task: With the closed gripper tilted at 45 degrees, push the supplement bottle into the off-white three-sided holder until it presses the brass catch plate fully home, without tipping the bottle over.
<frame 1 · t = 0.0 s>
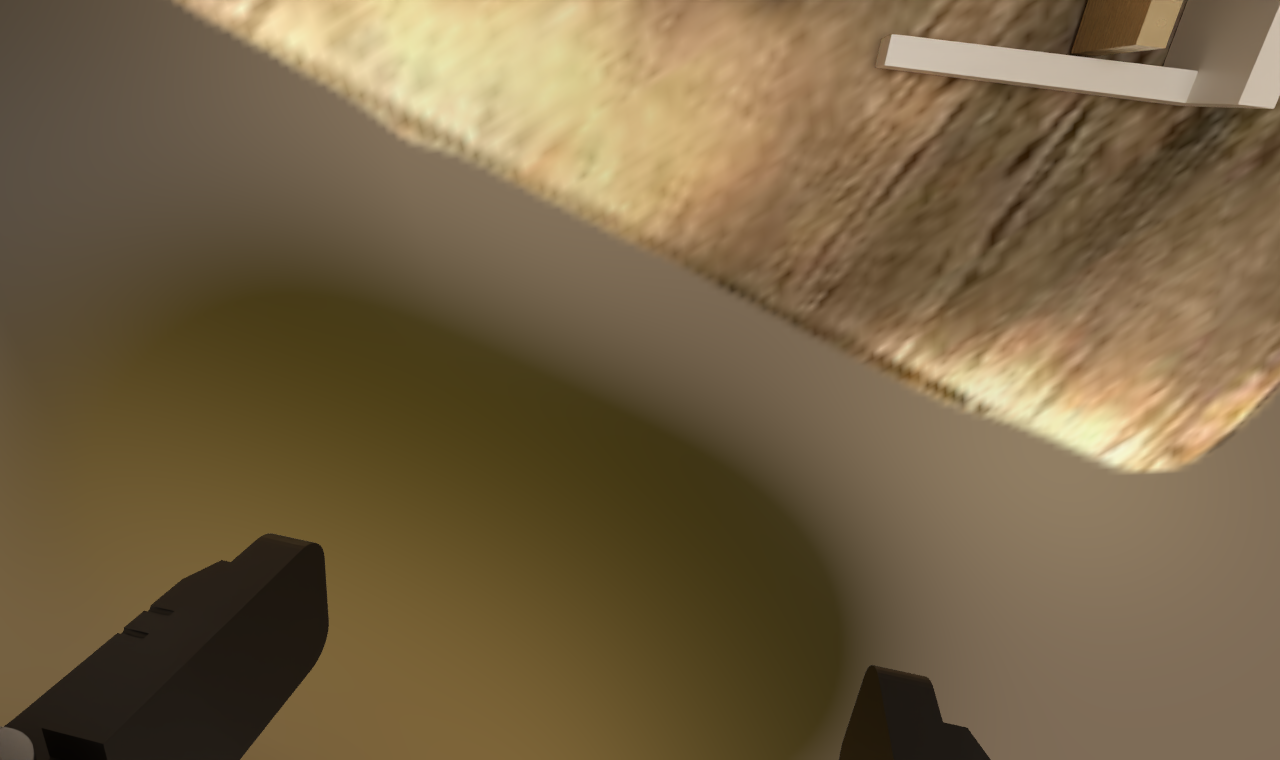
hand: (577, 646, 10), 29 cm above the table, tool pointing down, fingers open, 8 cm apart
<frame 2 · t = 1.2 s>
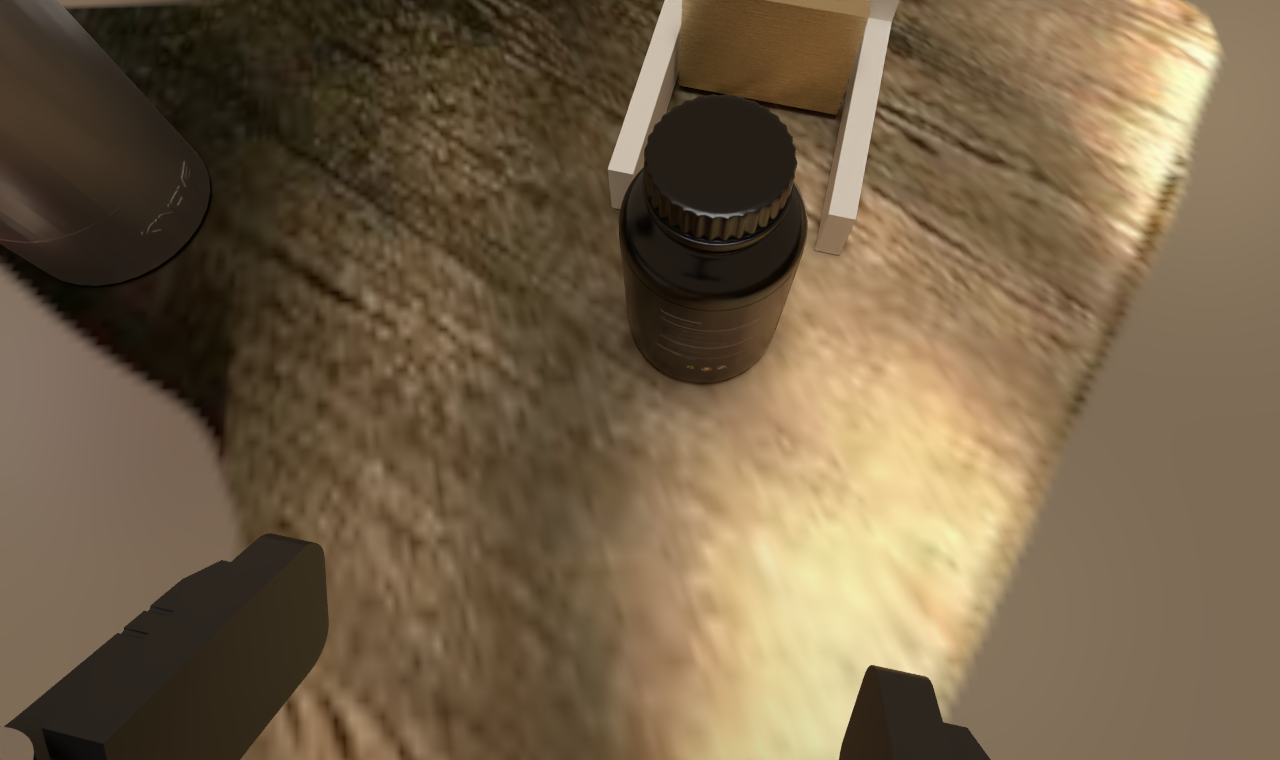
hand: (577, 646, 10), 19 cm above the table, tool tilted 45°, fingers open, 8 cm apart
supplement bottle: (700, 322, 33), on the table
catch plate: (766, 47, 35), point 3 cm above the table, slide at 0.0 cm
holder: (748, 135, 37), on the table
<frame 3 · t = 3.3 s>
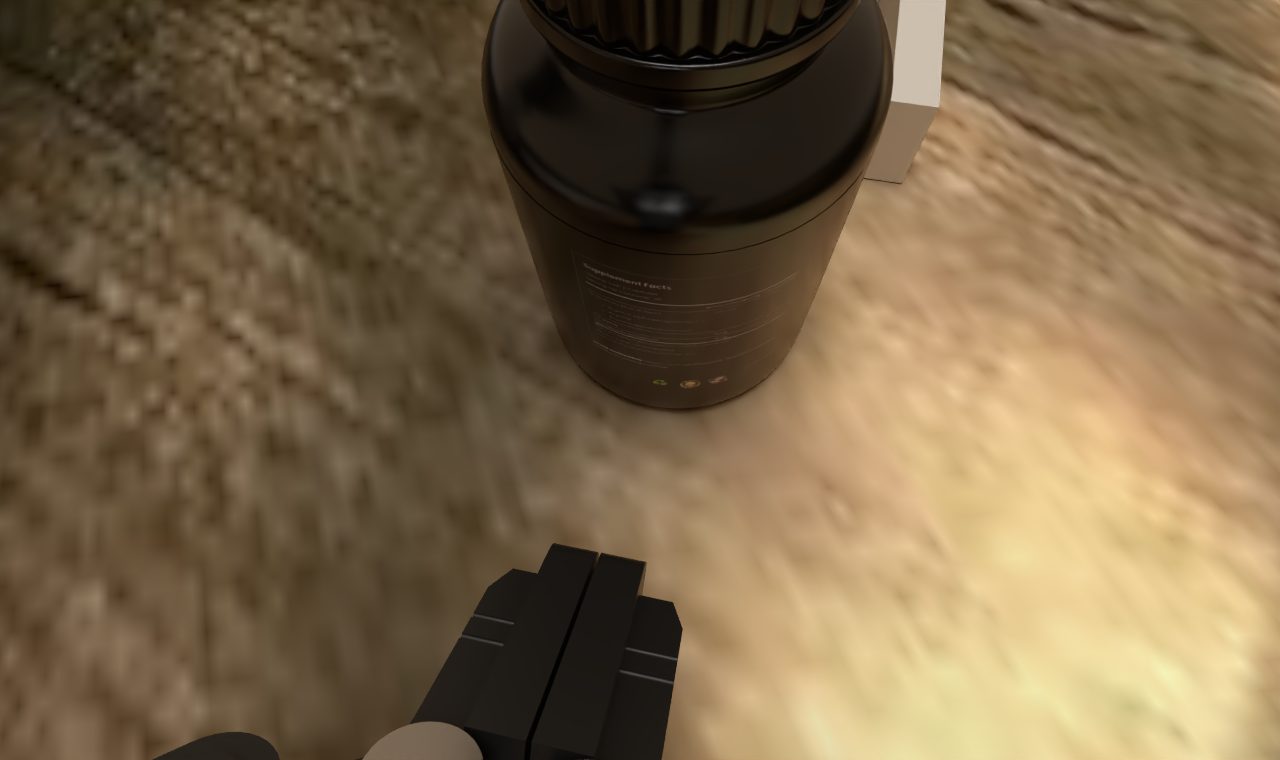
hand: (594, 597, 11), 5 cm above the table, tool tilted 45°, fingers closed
supplement bottle: (676, 304, 20), on the table
holder: (737, 9, 23), on the table
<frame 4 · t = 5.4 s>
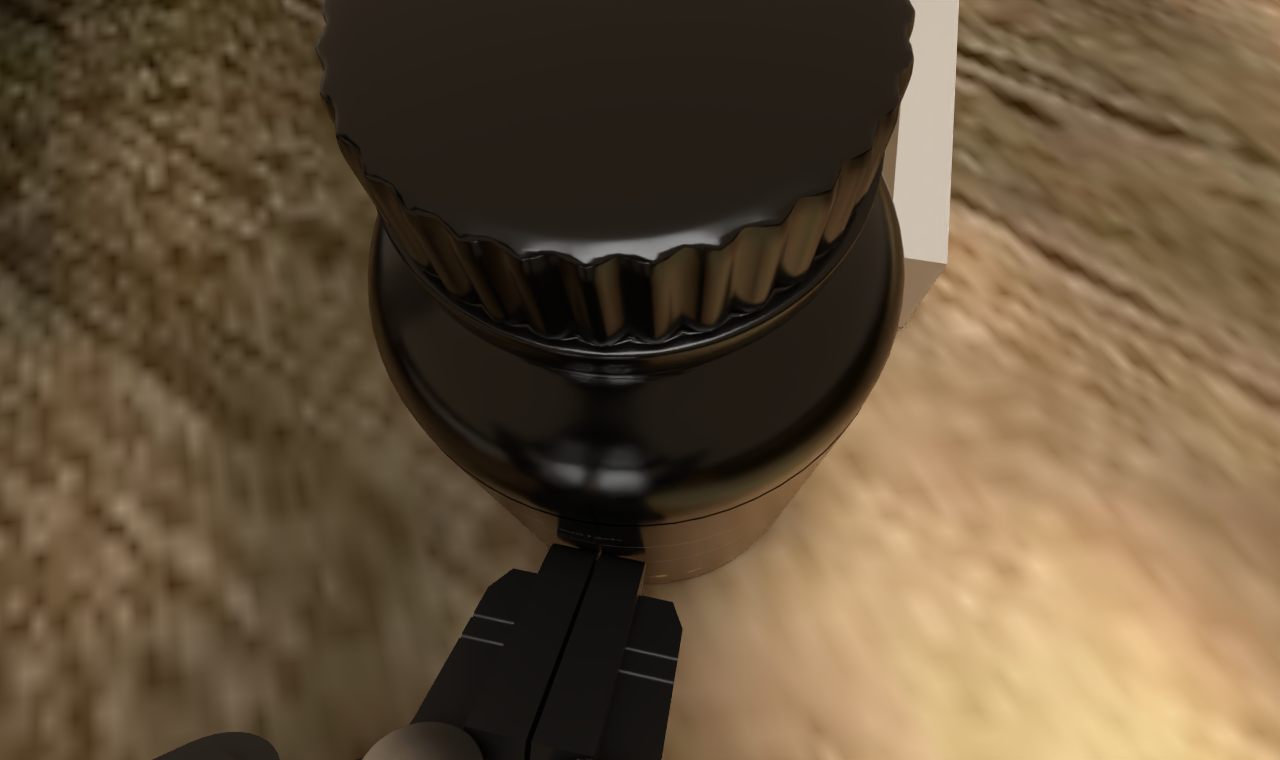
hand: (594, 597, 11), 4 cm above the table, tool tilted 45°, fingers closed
supplement bottle: (648, 443, 17), on the table, touching gripper
holder: (712, 110, 20), on the table
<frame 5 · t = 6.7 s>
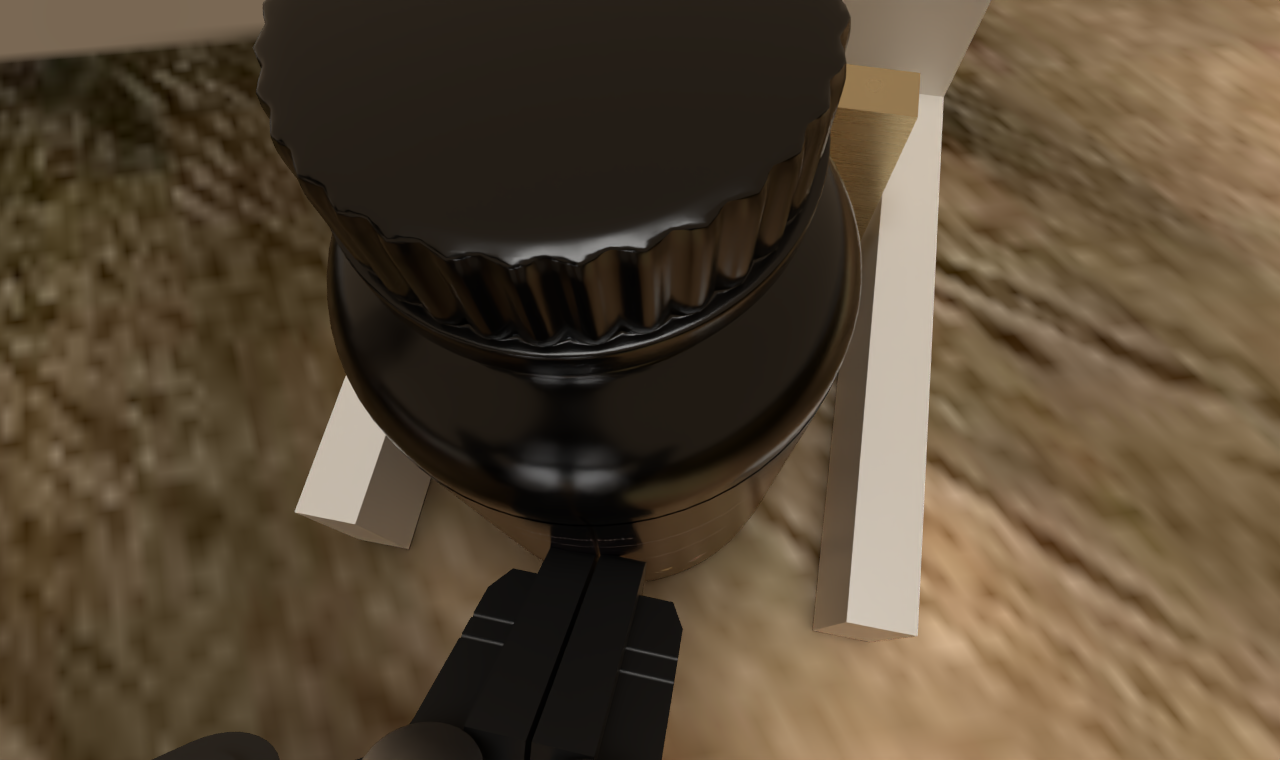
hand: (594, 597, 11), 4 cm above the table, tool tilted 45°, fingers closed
supplement bottle: (626, 443, 17), on the table, touching gripper
catch plate: (675, 173, 15), point 3 cm above the table, slide at 0.0 cm
holder: (655, 342, 18), on the table
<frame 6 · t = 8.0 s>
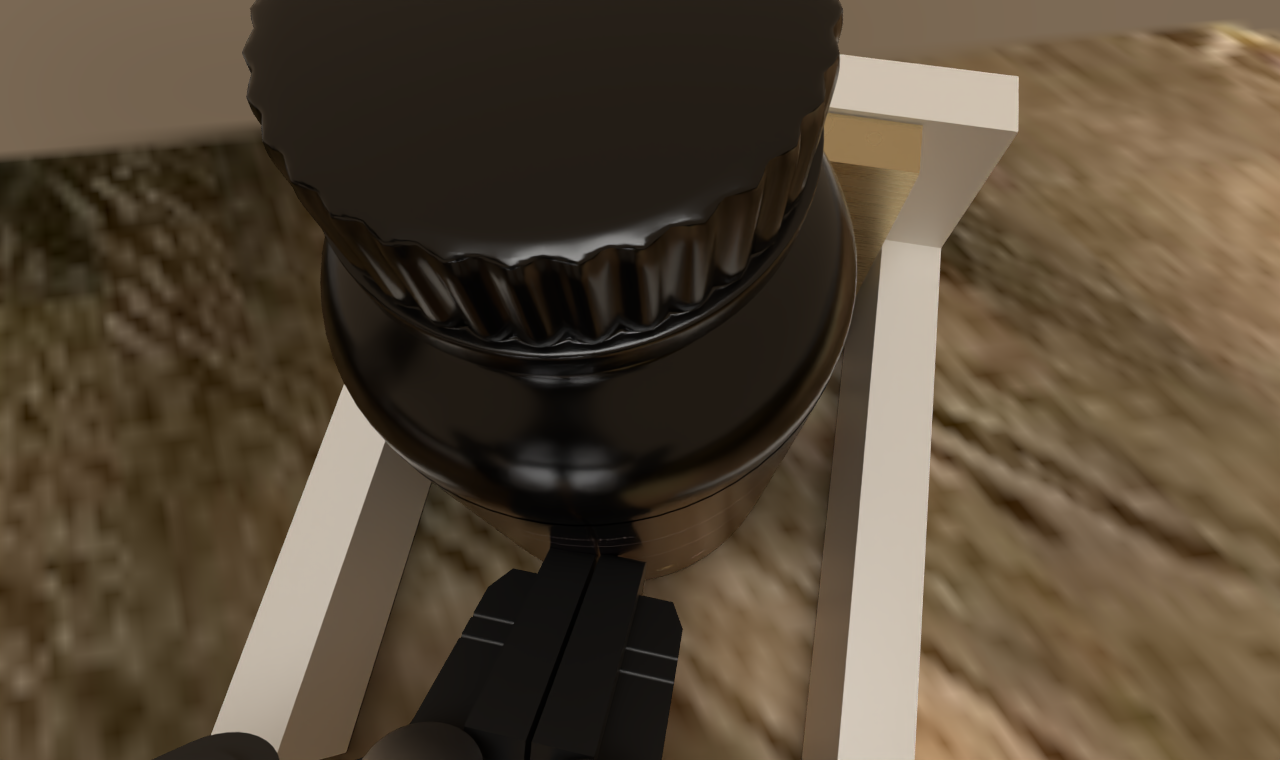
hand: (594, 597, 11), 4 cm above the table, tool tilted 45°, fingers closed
supplement bottle: (623, 442, 17), on the table, touching catch plate, gripper
catch plate: (669, 217, 15), point 3 cm above the table, slide at 3.0 cm, touching supplement bottle
holder: (624, 505, 16), on the table
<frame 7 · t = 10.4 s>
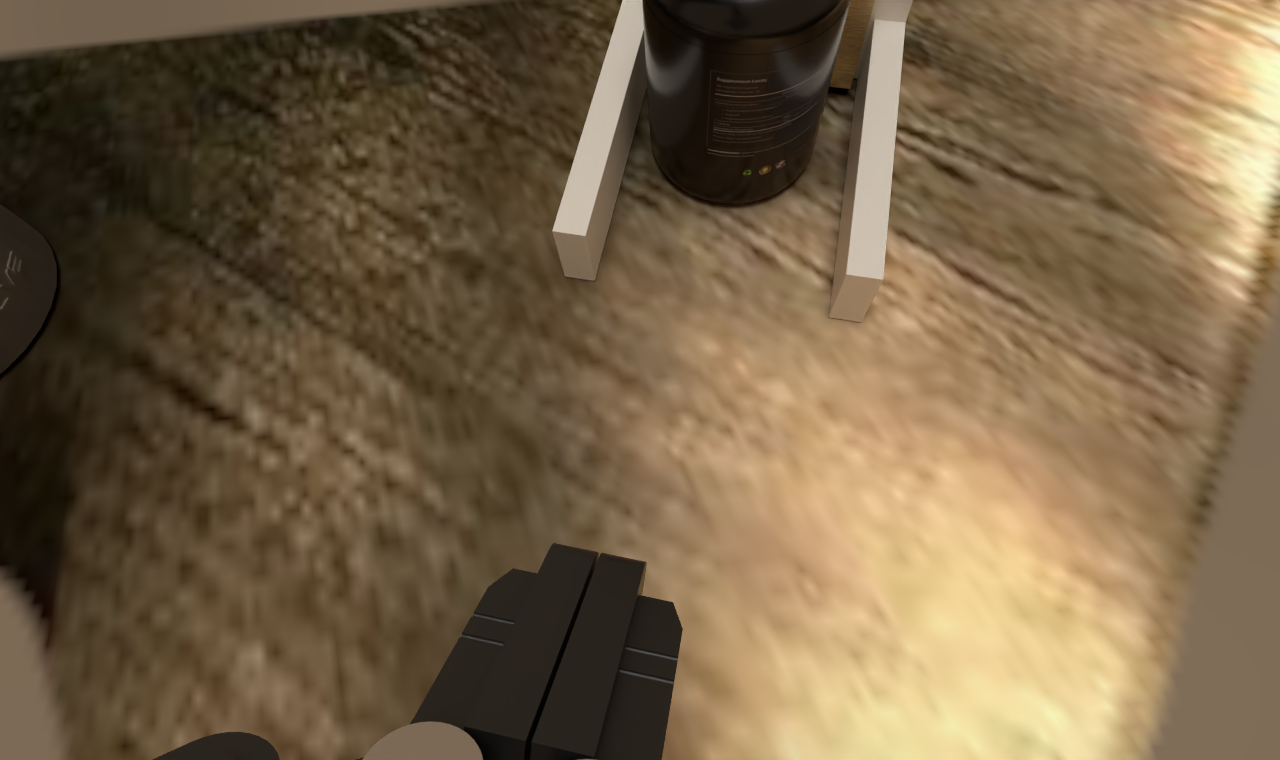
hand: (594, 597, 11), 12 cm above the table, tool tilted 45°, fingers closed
supplement bottle: (730, 148, 30), on the table
catch plate: (760, 9, 28), point 3 cm above the table, slide at 2.9 cm
holder: (733, 173, 29), on the table
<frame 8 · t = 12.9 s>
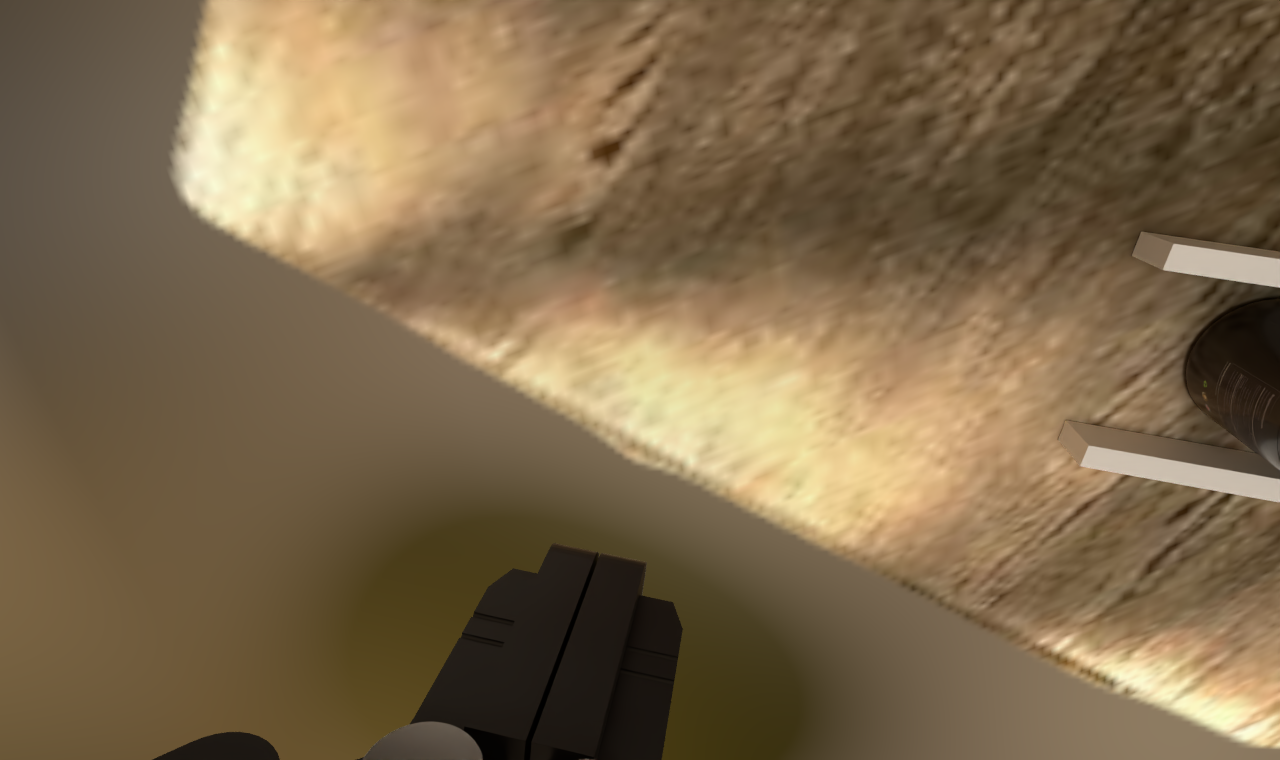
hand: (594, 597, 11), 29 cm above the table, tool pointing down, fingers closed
supplement bottle: (1253, 359, 36), on the table
holder: (1221, 362, 36), on the table
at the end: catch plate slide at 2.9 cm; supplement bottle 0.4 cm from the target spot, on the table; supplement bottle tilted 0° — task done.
